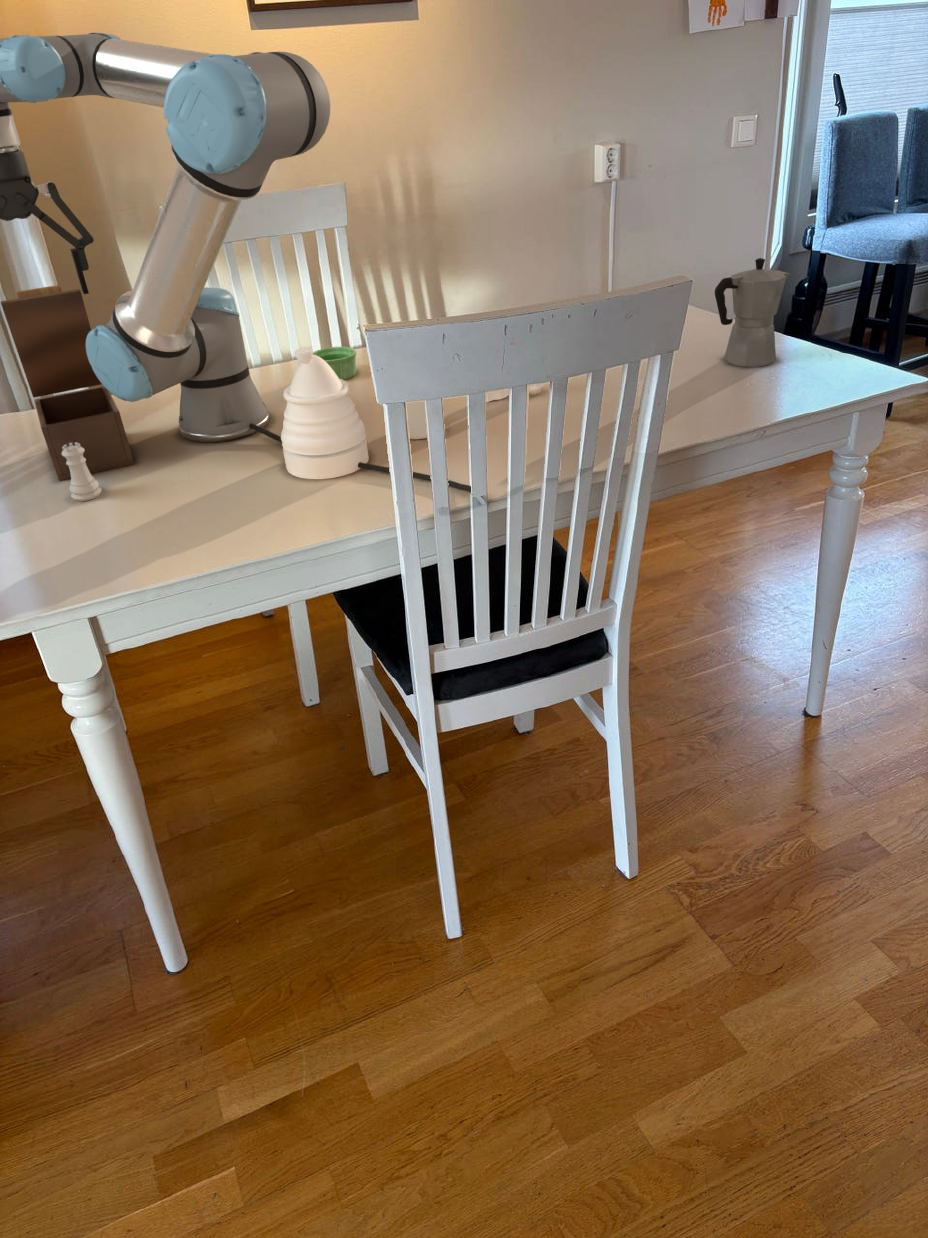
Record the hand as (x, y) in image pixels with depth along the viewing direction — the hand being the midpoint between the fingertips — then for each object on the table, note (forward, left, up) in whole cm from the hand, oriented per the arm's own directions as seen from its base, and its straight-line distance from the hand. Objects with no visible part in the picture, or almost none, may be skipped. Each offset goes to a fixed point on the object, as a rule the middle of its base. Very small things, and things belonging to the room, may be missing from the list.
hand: (41, 299), depth 144 cm
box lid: (-3, +3, -6) cm, 8 cm away
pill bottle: (-57, -16, -24) cm, 64 cm away
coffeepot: (-103, -62, -24) cm, 122 cm away
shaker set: (-67, -36, -24) cm, 80 cm away
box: (-7, +6, -23) cm, 25 cm away
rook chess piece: (-18, +19, -24) cm, 35 cm away
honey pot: (-48, -1, -24) cm, 54 cm away
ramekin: (-28, -40, -24) cm, 54 cm away
